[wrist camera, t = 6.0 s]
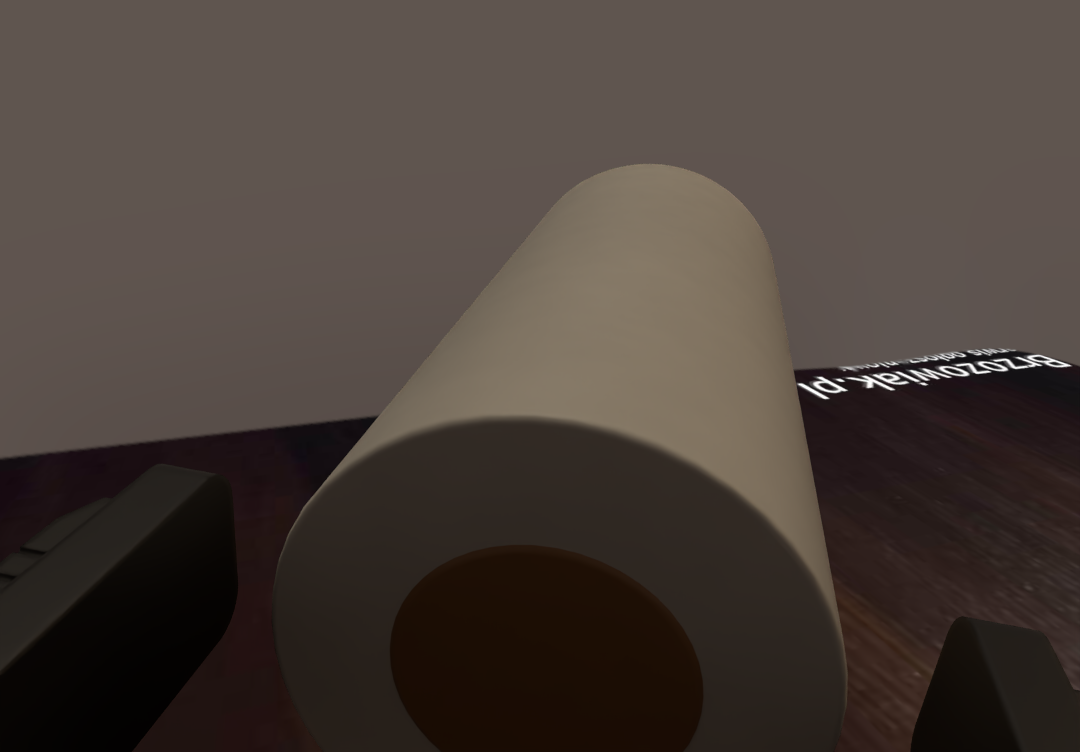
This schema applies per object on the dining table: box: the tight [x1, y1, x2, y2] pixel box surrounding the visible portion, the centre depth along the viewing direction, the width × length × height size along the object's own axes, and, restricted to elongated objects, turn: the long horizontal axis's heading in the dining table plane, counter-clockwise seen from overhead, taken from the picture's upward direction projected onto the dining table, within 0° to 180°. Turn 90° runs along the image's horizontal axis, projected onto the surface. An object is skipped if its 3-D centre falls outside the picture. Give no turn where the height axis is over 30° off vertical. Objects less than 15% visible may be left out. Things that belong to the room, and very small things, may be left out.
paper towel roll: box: [272, 164, 848, 752], centre depth 15 cm, size 6×13×6 cm, turn 169°
